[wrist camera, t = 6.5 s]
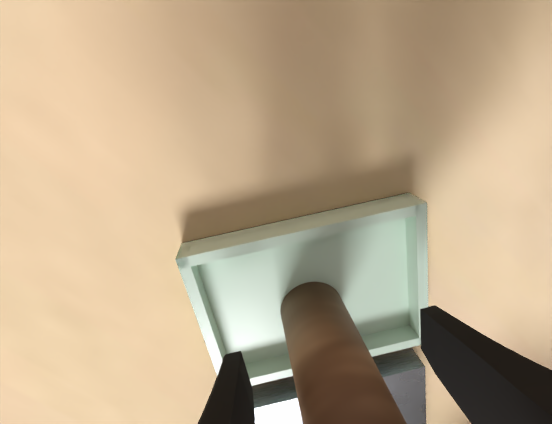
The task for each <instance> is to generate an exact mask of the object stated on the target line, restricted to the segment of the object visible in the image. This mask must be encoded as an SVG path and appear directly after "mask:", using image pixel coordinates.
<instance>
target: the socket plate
mask: <svg viewBox="0 0 552 424" xmlns="http://www.w3.org/2000/svg"><path fill="white" fill-rule="evenodd" d="M372 358H373V360H374V362H375V364H376V366H377V368H378V370H379V371H380V373H381V375H382V377H383V379H384V381H385V383H386V385H387V387H388V389H389V391H390V393H391V394H392V396H393V398H394V400H395V402H396V404H397V406H398V408H399V410H400V412H401V414H402V415H403V417H404V419H405V421H406V423H407V424H426V397H425V366H424V365H423V363H422V362H421V360H420V359H419V357H418V356H417V355H416V353H415V352H414V350H413V349H412V347H410V348H406V349H402V350H398V351H394V352H390V353H385V354H381V355H377V356H373V357H372ZM252 389H253V400H254V411H255V424H303V422H302V417H301V412H300V407H299V402H298V397H297V393H296V388H295V383H294V378H293V376H290V377H286V378H282V379H278V380H274V381H269V382H265V383H261V384H257V385H253V386H252Z"/></svg>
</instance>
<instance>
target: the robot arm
mask: <svg viewBox="0 0 552 424" xmlns="http://www.w3.org/2000/svg"><path fill="white" fill-rule="evenodd" d="M420 325H421V349H422V351H423V353H424V355H425V356H426V358H427V360H428V362H429V363H430V365H431V367H432V369H433V370H434V372H435V374H436V375H437V377H438V378H439V379H440V381H441V382H442V384H443V385H444V386H445V388H446V389H447V391H448V392H449V393H450V395H451V396H452V397H453V399H454V400H455V402H456V403H457V404H458V406H459V407H460V408H461V410H462V411H463V413H464V414H465V415H466V417H467V418H468V419H469V421H470V422H471V423H472V424H552V370H550V369H548V368H546V367H544V366H541V365H539V364H537V363H535V362H533V361H531V360H529V359H527V358H525V357H523V356H521V355H519V354H518V353H516V352H514V351H512V350H510V349H508V348H506V347H504V346H502V345H501V344H499V343H497V342H495V341H493V340H492V339H490V338H488V337H486V336H485V335H483V334H481V333H480V332H478V331H476V330H475V329H473V328H471V327H470V326H468V325H466V324H465V323H463V322H461V321H460V320H458V319H456V318H455V317H453V316H452V315H450V314H448V313H447V312H445V311H443V310H442V309H440V308H438V307H437V306H431V307H427V308H422V309H420ZM198 424H255V411H254V400H253V389H252V385H251V382H250V379H249V375H248V372H247V369H246V366H245V362H244V359H243V356H242V353H241V351H238V352H233V353H229V354H225V356H224V357H223V360H222V364H221V367H220V370H219V373H218V376H217V378H216V381H215V384H214V386H213V389H212V392H211V394H210V396H209V399H208V401H207V404H206V406H205V409H204V411H203V413H202V415H201V418H200V420H199V422H198Z"/></svg>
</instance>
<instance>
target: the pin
mask: <svg viewBox="0 0 552 424" xmlns="http://www.w3.org/2000/svg"><path fill="white" fill-rule="evenodd" d="M280 313H281V319H282V324H283V329H284V334H285V339H286V343H287V348H288V353H289V358H290V363H291V368H292V373H293V378H294V383H295V388H296V393H297V397H298V402H299V407H300V412H301V417H302V422H303V424H407V423H406V421H405V419H404V417H403V415H402V414H401V412H400V410H399V408H398V406H397V404H396V402H395V400H394V398H393V396H392V394H391V393H390V391H389V389H388V387H387V385H386V383H385V381H384V379H383V377H382V375H381V373H380V371H379V370H378V368H377V366H376V364H375V362H374V360H373V358H372V356H371V354H370V352H369V350H368V349H367V347H366V345H365V343H364V341H363V339H362V337H361V335H360V333H359V331H358V329H357V327H356V326H355V324H354V322H353V320H352V318H351V316H350V314H349V312H348V310H347V308H346V306H345V305H344V303H343V301H342V299H341V297H340V295H339V293H338V292H337V291H336V289H334V288H333V287H332V286H330V285H328V284H326V283H323V282H307V283H303V284H301V285H298V286H297V287H295V288H293V289H292V290H291V291H290V292H289V293H288V294H287V295H286V296H285V298H284V299H283V301H282V304H281V309H280Z"/></svg>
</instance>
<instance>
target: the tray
mask: <svg viewBox="0 0 552 424" xmlns="http://www.w3.org/2000/svg"><path fill="white" fill-rule="evenodd" d="M176 262H177V265H178V268H179V271H180V273H181V276H182V279H183V282H184V284H185V287H186V290H187V293H188V296H189V298H190V301H191V304H192V307H193V310H194V312H195V315H196V318H197V321H198V324H199V326H200V329H201V332H202V335H203V338H204V340H205V343H206V346H207V349H208V352H209V354H210V357H211V360H212V363H213V366H214V368H215V371H216V374H217V376H218V373H219V370H220V367H221V364H222V360H223V357H224V356H225V354H229V353H233V352H238V351H241V353H242V356H243V359H244V362H245V366H246V369H247V372H248V375H249V379H250V382H251V385H252V386H253V385H257V384H261V383H265V382H269V381H274V380H278V379H282V378H286V377H290V376H293V373H292V368H291V363H290V358H289V353H288V348H287V343H286V339H285V334H284V329H283V324H282V319H281V313H280V309H281V304H282V301H283V299H284V298H285V296H286V295H287V294H288V293H289V292H290V291H291V290H292V289H293V288H295V287H297V286H298V285H301V284H303V283H307V282H323V283H326V284H328V285H330V286H332V287H333V288H334V289H336V291H337V292H338V293H339V295H340V297H341V299H342V301H343V303H344V305H345V306H346V308H347V310H348V312H349V314H350V316H351V318H352V320H353V322H354V324H355V326H356V327H357V329H358V331H359V333H360V335H361V337H362V339H363V341H364V343H365V345H366V347H367V349H368V350H369V352H370V354H371V356H372V357H373V356H377V355H381V354H385V353H390V352H394V351H398V350H402V349H406V348H410V347H414V346H419V345H421V325H420V309H422V308H427V307H428V246H427V203H426V202H425V201H423V200H421V199H419V198H418V197H416V196H414V195H412V194H411V193H406V194H401V195H397V196H392V197H388V198H383V199H379V200H374V201H370V202H365V203H361V204H356V205H352V206H347V207H343V208H338V209H334V210H329V211H325V212H320V213H316V214H311V215H307V216H302V217H298V218H293V219H289V220H284V221H280V222H275V223H271V224H266V225H262V226H257V227H253V228H248V229H244V230H239V231H235V232H230V233H226V234H221V235H217V236H212V237H208V238H203V239H199V240H194V241H190V242H185V243H181V246H180V249H179V251H178V254H177V257H176Z"/></svg>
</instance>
